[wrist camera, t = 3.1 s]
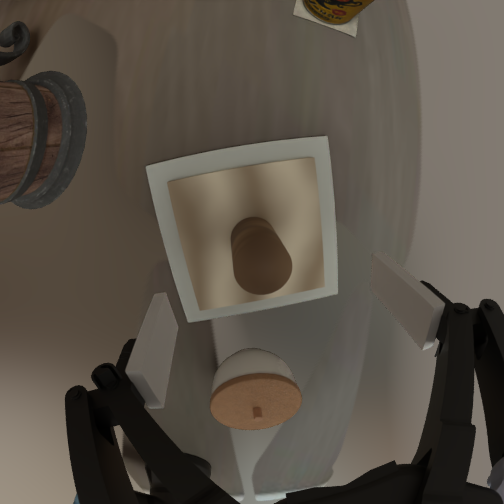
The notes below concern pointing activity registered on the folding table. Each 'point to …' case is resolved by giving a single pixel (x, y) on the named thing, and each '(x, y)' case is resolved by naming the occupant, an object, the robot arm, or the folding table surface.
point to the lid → (250, 231)
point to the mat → (234, 159)
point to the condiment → (332, 13)
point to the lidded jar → (254, 391)
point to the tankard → (38, 130)
